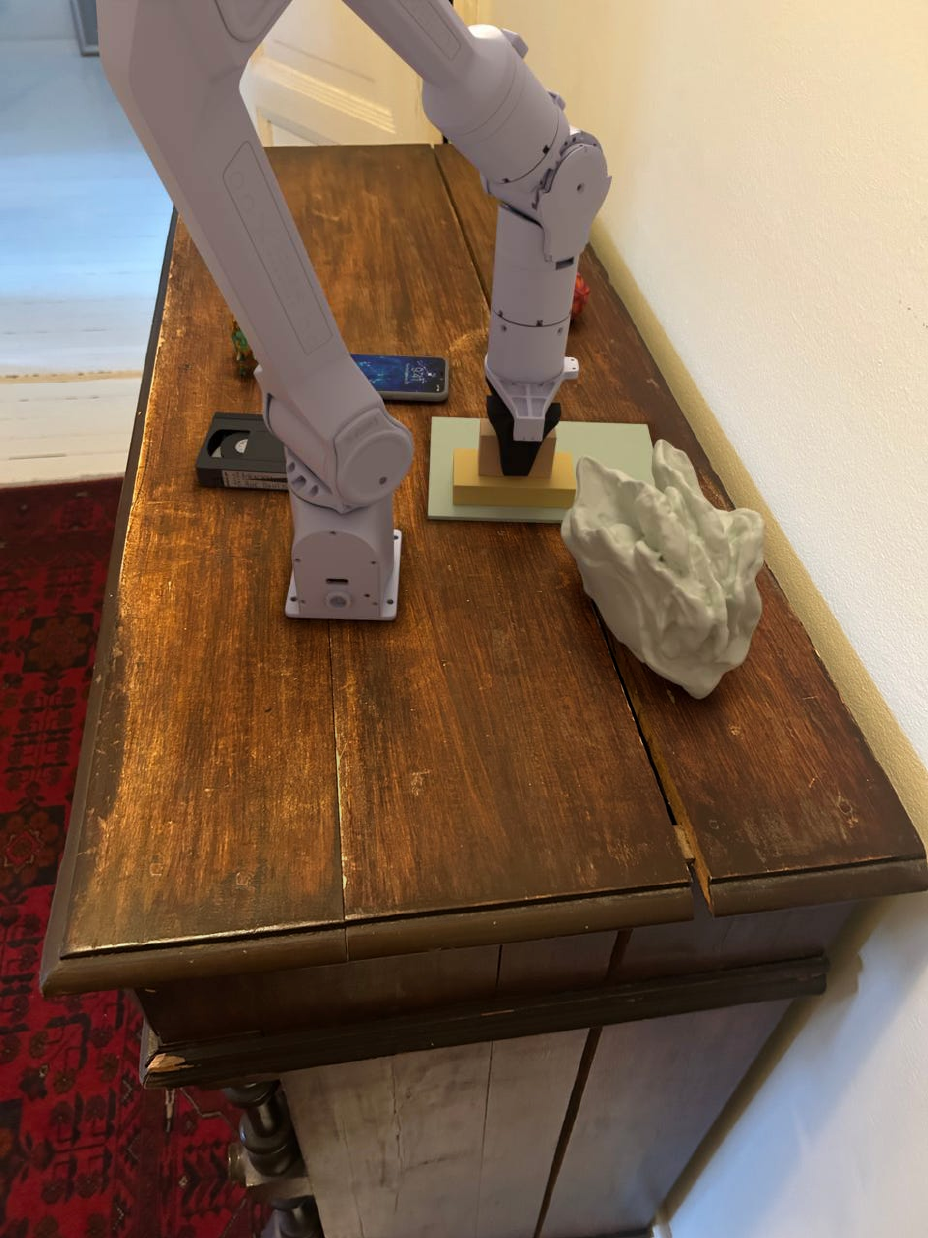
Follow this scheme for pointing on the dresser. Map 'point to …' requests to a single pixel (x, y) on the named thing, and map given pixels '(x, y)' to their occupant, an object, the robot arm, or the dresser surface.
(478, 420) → the mat
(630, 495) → the wavy plaster lump
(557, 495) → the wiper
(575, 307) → the red bumpy ball
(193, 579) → the dresser surface
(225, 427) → the vhs tape
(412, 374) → the smartphone
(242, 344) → the figurine
